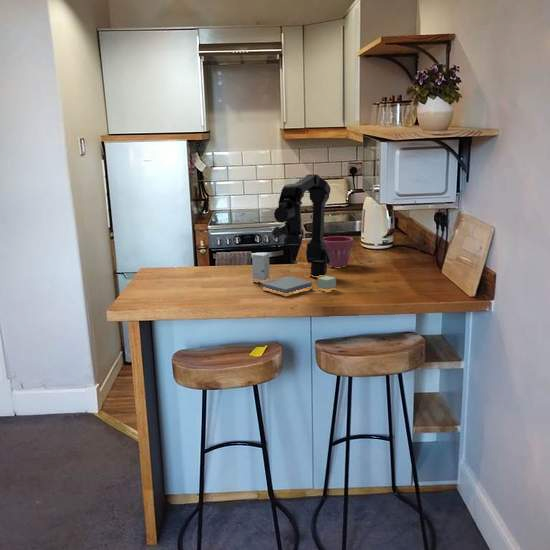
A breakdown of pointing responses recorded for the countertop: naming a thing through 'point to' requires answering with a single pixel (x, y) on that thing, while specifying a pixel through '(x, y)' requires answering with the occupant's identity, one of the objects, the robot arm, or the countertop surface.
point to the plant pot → (338, 250)
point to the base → (287, 284)
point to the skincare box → (260, 266)
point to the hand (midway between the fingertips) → (295, 257)
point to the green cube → (326, 282)
